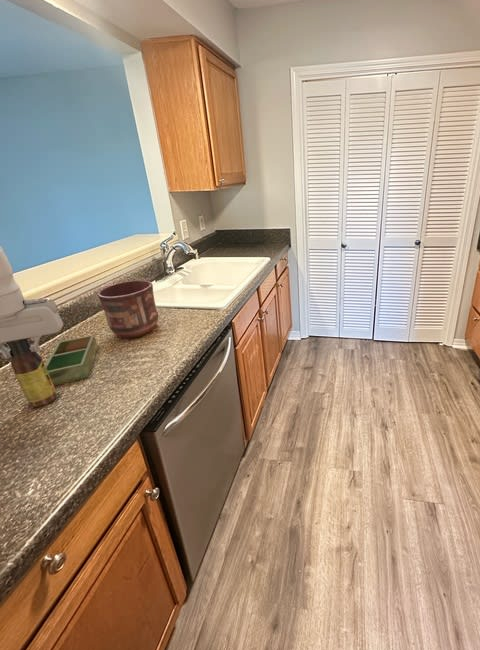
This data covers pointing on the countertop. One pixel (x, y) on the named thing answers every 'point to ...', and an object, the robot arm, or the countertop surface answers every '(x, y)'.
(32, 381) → the sauce bottle
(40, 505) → the countertop surface
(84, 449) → the countertop surface
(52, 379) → the green shallow open box
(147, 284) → the pottery
